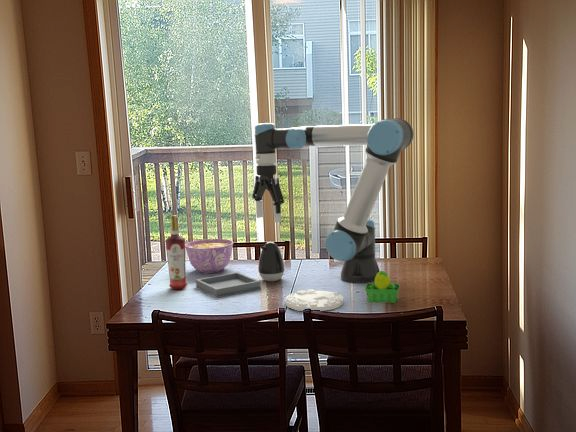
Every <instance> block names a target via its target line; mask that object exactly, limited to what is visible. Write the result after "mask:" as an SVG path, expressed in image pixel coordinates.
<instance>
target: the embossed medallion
mask: <svg viewBox="0 0 576 432" xmlns="http://www.w3.org/2000/svg"><path fill="white" fill-rule="evenodd" d="M284 303H285V306H286V307H287V308H288V309H289V308H291V309H292V310H294V311H296V310H297V312H304V311H303V310H304V309H307V308H310V309H312V310H320V311H319V312H324V311H330V310H331V311H332V310H334V309H337V308H340V307H341V306H343V305H344V296H342V295H341V294H339V292H338V291H327V290H314V289H313V288H311V289H309V288H308V289H305V290H304V289H300V290H297V291H296V292H295V293H294V292H293V293H289V294H288V295H286V297H285V300H284Z"/></svg>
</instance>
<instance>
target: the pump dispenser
mask: <svg viewBox="0 0 576 432" xmlns="http://www.w3.org/2000/svg"><path fill="white" fill-rule="evenodd" d="M259 249H261V251H260V255H259V258H258V267H257V268H258V273H259V276H260V277H261V279H263V280H264V281H265V282H278V281H279V280H280V279H282V278H283V276H284V273H285V270H286V269H285V263H284V258H283V255H282V253H281V250H280V248H279V246H278V244H276V243H275V242H274V241H267V242H265V244H264V245H260V248H259Z"/></svg>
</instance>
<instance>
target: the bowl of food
mask: <svg viewBox="0 0 576 432" xmlns="http://www.w3.org/2000/svg"><path fill="white" fill-rule="evenodd" d="M233 245H234V241H233V240H231V239H226V238H206V239H198V240H197V239H196V240H193V241H189V242H187V243H186V242H185V252H186V254H187V257H188V260H189V263H190V265H191V266H192V267H193V269H195V270H197V271H200V272H201V273H204V274H212V273H214V274H215V273H219V272H220V271H221V270H223V269H224V268H226V267H228V265H229V263H230V262H231V258H232V252H233Z"/></svg>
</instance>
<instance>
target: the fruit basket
mask: <svg viewBox="0 0 576 432" xmlns="http://www.w3.org/2000/svg"><path fill="white" fill-rule="evenodd" d="M373 282H374V283H372V282H367V283H366V286H365V287H364V290H365V292H366V294H367V295H366V296H367V299H368V302H369V303H379V302H382V303H383V302H391V304H395V303H396V302H397V299H398V294H399V290H400V287H401V285H400V284H399V283H392V282H391V277H389V275H388V274H387V272H386V271H385V270H380V272H378V273H377V275H376V277H375V280H374V281H373Z"/></svg>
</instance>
